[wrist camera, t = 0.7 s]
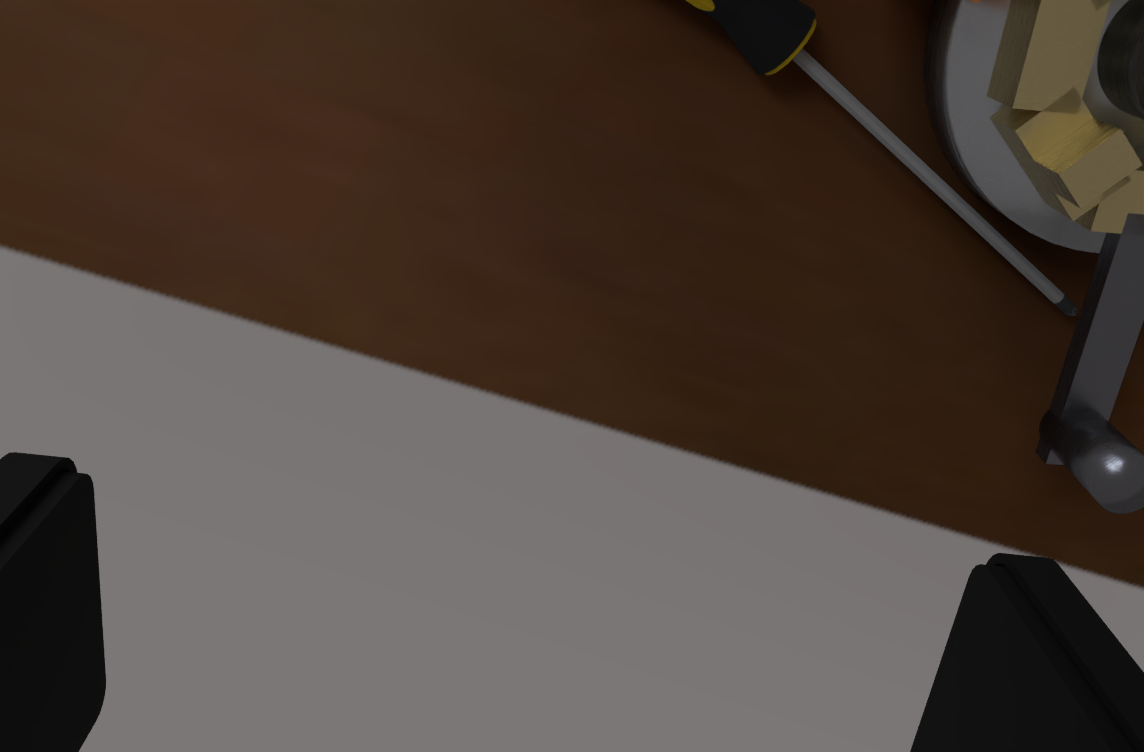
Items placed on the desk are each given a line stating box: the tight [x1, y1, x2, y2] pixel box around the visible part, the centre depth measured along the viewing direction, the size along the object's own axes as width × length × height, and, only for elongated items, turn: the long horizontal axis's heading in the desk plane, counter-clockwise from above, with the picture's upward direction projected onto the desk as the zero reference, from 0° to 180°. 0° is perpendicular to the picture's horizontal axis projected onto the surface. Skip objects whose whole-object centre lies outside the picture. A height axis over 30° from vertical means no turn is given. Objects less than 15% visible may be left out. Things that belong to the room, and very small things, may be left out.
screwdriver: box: [686, 0, 1078, 317], centre depth 41 cm, size 3×3×30 cm
